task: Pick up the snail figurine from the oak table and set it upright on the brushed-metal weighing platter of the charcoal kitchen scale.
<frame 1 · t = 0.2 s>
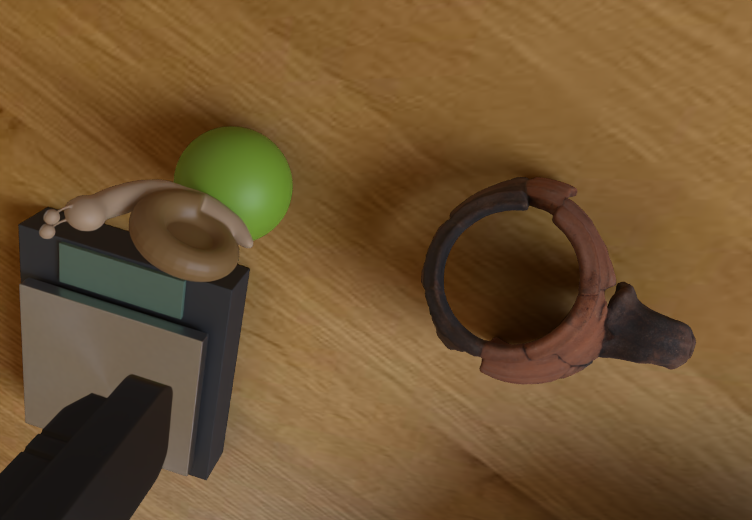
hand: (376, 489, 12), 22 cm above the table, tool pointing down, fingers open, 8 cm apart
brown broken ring: (550, 267, 34), on the table
scale: (141, 338, 41), on the table
scale platter: (111, 381, 38), point 3 cm above the table, slide at 0.0 cm
snail figurine: (247, 160, 34), on the table
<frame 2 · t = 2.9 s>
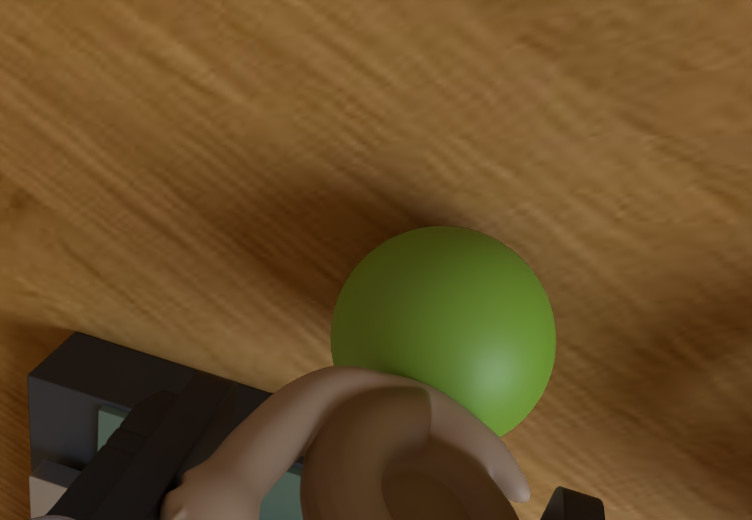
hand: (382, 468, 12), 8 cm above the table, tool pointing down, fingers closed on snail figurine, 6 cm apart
snail figurine: (437, 271, 19), on the table, touching gripper
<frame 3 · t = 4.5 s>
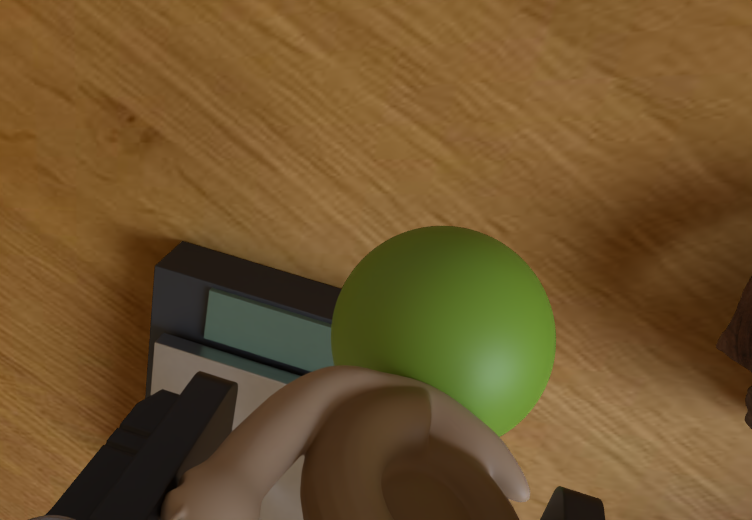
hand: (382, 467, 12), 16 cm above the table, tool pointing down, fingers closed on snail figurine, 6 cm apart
scale: (287, 402, 33), on the table
scale platter: (260, 462, 30), point 3 cm above the table, slide at 0.0 cm
snail figurine: (437, 271, 19), point 8 cm above the table, touching gripper
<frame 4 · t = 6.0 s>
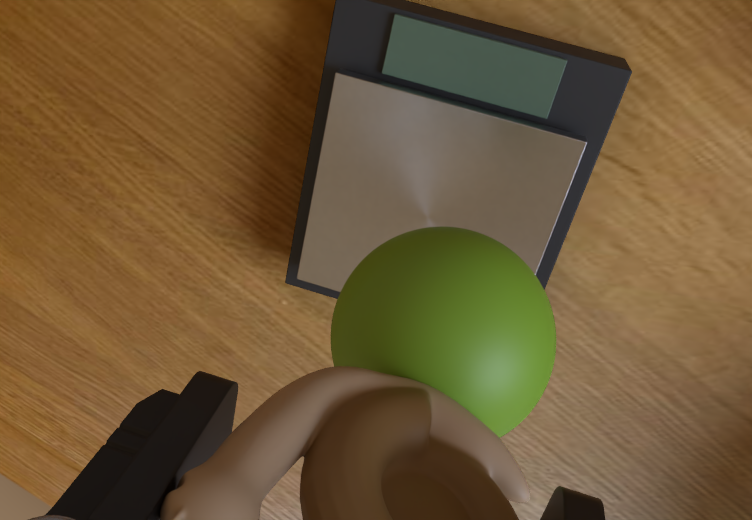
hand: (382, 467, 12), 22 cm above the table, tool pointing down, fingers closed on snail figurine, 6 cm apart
scale: (443, 171, 32), on the table
scale platter: (429, 213, 30), point 3 cm above the table, slide at 0.0 cm
snail figurine: (438, 272, 19), point 14 cm above the table, touching gripper
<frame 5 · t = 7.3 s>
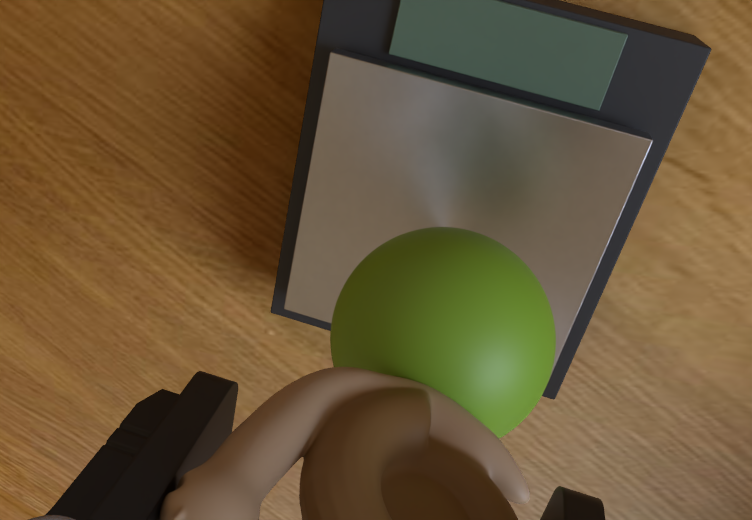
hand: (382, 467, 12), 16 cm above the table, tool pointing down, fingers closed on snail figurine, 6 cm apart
scale: (462, 177, 27), on the table
scale platter: (447, 230, 24), point 3 cm above the table, slide at 0.0 cm
snail figurine: (437, 272, 19), point 8 cm above the table, touching gripper
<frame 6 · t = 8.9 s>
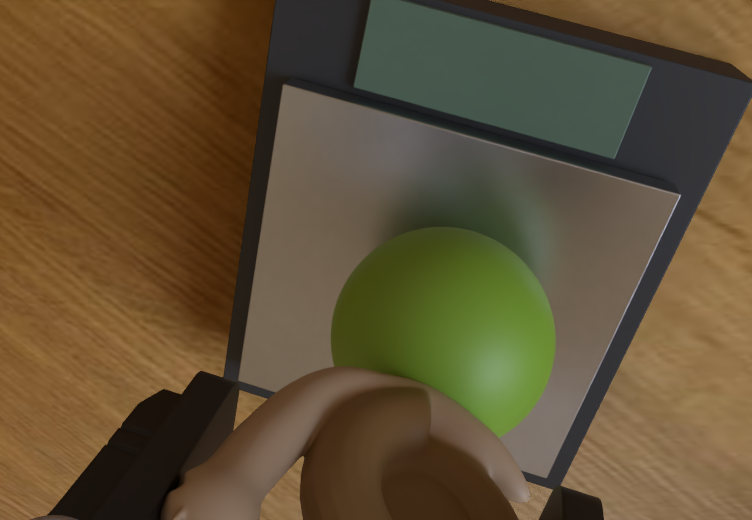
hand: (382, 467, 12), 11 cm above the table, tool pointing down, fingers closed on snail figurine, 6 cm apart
scale: (448, 229, 22), on the table
scale platter: (429, 294, 20), point 3 cm above the table, slide at -0.3 cm, touching snail figurine
snail figurine: (437, 272, 19), point 3 cm above the table, touching gripper, scale platter
when the fingers open (11 cm above the table, at t = 9.1 s): snail figurine stays where it is, resting on scale platter.
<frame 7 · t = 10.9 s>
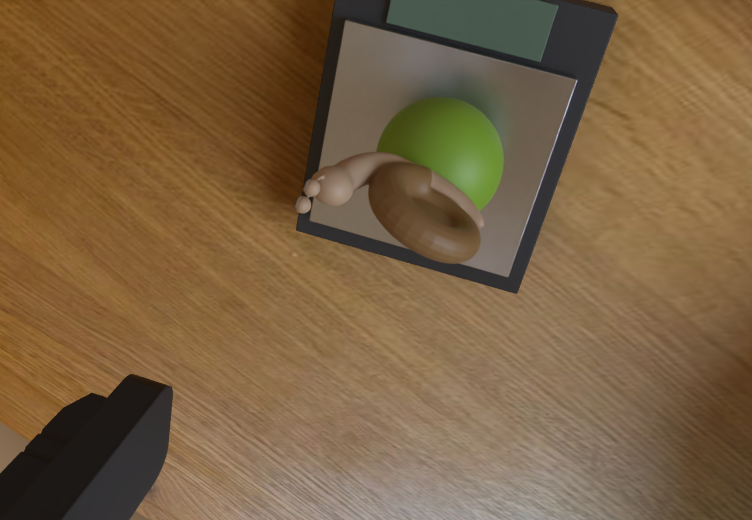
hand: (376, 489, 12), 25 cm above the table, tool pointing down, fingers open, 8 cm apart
scale: (444, 121, 34), on the table
scale platter: (432, 154, 32), point 3 cm above the table, slide at -0.4 cm, touching snail figurine
snail figurine: (437, 137, 32), point 3 cm above the table, touching scale platter
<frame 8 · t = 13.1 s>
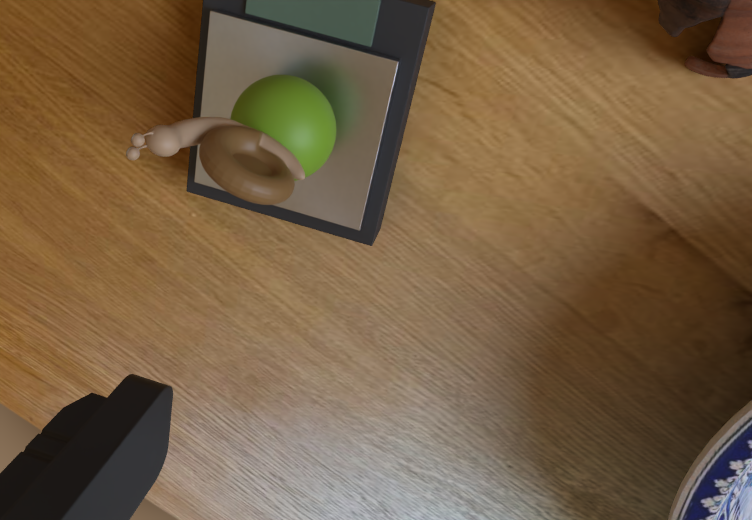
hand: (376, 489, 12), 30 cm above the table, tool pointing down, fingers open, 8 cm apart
scale: (308, 98, 41), on the table
scale platter: (291, 124, 38), point 3 cm above the table, slide at -0.4 cm, touching snail figurine
snail figurine: (292, 109, 38), point 3 cm above the table, touching scale platter
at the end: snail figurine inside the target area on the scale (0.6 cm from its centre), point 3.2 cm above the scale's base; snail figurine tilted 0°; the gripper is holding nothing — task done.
